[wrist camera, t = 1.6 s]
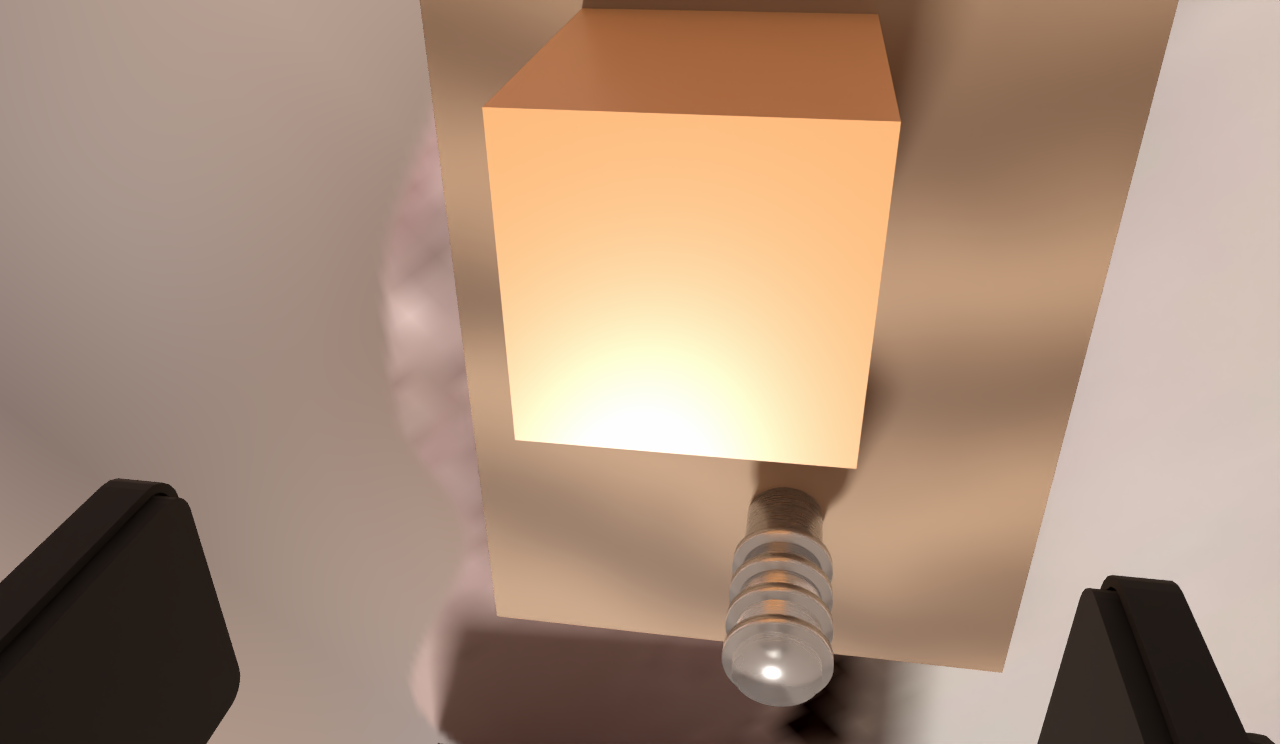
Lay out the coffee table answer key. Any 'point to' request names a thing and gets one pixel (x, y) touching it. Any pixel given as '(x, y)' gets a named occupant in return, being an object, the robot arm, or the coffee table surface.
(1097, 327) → the coffee table surface
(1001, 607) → the tan wooden board
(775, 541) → the threaded post
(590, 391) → the orange wooden cube
